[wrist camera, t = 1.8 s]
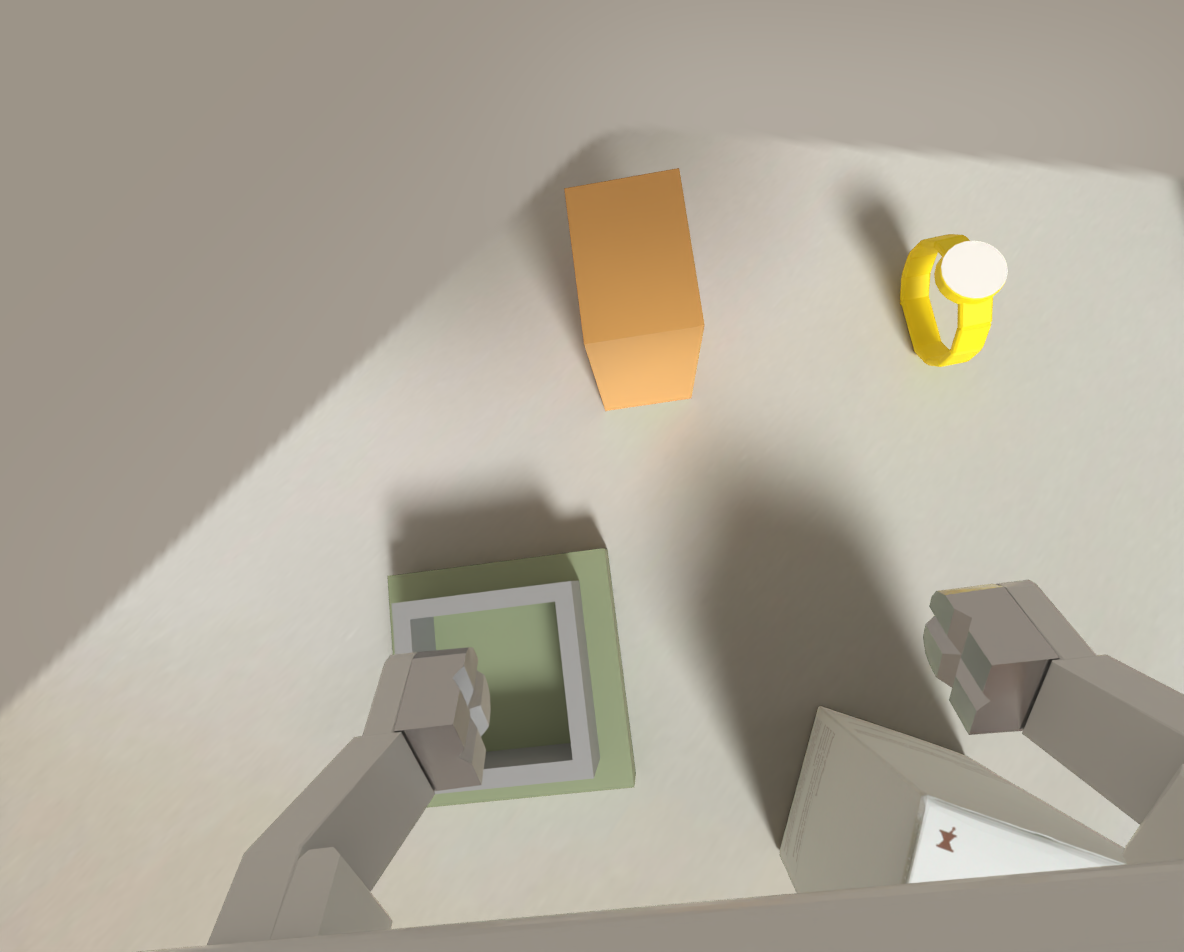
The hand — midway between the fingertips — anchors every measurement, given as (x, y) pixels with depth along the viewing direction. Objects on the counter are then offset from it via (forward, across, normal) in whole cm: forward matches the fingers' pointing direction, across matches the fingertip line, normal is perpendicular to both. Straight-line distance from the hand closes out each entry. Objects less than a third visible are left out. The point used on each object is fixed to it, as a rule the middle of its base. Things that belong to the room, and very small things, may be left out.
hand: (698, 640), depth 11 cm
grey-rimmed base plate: (+13, +8, +17) cm, 23 cm away
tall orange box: (+25, 0, +5) cm, 25 cm away
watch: (+24, -15, +6) cm, 29 cm away
